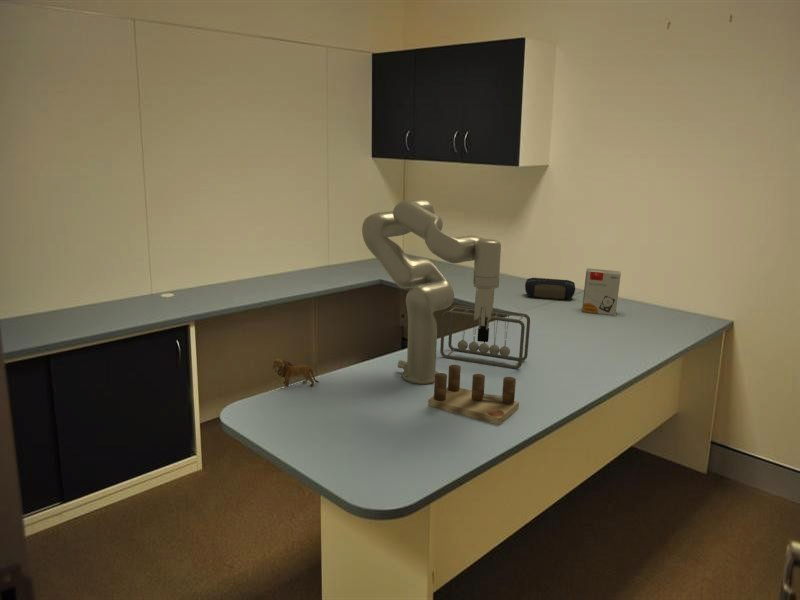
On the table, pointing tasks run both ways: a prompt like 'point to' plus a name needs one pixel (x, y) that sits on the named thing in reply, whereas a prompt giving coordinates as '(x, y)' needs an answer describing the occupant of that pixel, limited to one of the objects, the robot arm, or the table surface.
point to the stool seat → (467, 399)
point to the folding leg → (506, 396)
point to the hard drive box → (601, 291)
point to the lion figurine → (292, 371)
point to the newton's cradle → (484, 347)
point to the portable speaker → (550, 288)
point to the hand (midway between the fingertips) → (482, 340)
